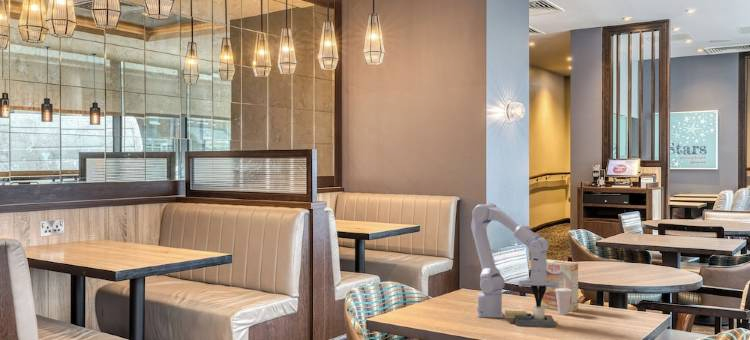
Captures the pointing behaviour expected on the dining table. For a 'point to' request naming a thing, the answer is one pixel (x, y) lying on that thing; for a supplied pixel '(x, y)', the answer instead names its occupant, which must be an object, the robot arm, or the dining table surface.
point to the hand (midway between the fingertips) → (538, 306)
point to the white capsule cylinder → (539, 313)
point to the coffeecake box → (561, 283)
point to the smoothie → (563, 299)
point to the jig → (533, 321)
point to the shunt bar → (515, 314)
